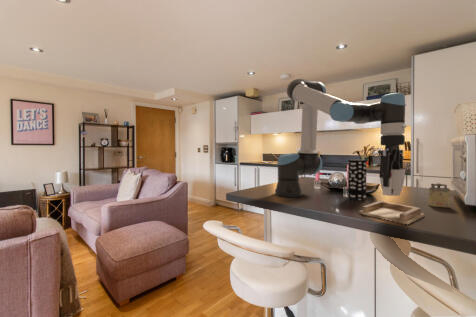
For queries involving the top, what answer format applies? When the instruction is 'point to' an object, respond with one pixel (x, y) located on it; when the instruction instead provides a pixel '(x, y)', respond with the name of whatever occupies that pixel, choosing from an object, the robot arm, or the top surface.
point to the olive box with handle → (439, 196)
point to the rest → (392, 212)
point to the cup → (396, 181)
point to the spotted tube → (357, 179)
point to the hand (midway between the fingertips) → (391, 193)
